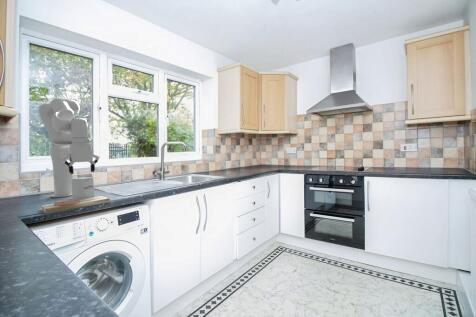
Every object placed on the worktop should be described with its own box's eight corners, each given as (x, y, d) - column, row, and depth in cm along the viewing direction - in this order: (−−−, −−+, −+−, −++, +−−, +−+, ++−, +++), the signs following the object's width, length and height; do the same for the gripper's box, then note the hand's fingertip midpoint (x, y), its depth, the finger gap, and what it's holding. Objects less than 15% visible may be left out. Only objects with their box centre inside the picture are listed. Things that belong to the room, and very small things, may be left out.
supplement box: (83, 202, 123) (82, 178, 122) (72, 202, 124) (70, 178, 124) (95, 199, 130) (93, 176, 130) (83, 199, 132) (82, 177, 131)
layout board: (41, 209, 109) (40, 203, 109) (101, 199, 129) (101, 194, 128) (46, 213, 102) (46, 206, 102) (109, 202, 121) (109, 196, 121)
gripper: (95, 141, 135) (97, 171, 135) (58, 141, 122) (61, 174, 122) (100, 141, 130) (102, 171, 130) (62, 140, 117) (65, 174, 117)
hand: (82, 172), depth 126 cm, fingers open, 9 cm apart
